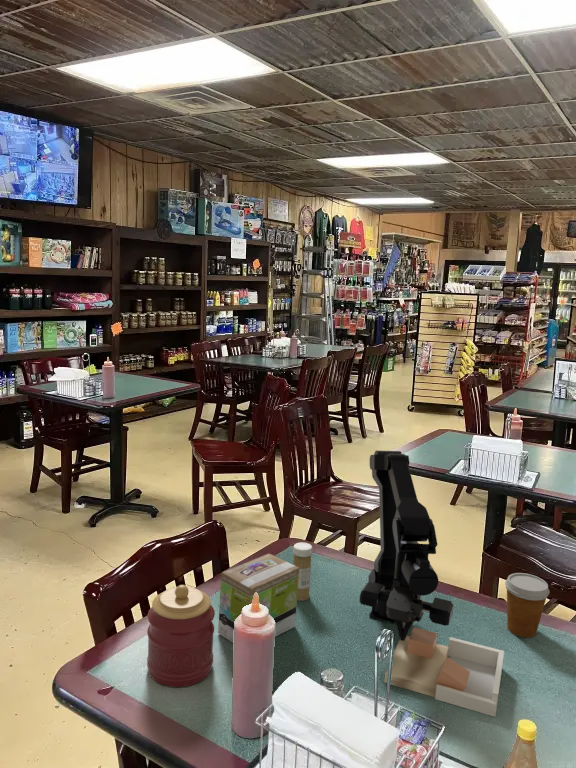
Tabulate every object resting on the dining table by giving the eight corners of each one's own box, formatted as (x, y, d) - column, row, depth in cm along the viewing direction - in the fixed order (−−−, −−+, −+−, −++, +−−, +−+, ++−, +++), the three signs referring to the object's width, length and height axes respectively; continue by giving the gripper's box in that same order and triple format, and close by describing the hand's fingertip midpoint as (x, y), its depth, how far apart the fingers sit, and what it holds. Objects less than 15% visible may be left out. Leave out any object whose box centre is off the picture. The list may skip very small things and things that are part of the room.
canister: (216, 650, 132) (219, 571, 129) (208, 690, 119) (211, 604, 116) (154, 647, 132) (155, 568, 129) (139, 687, 119) (140, 601, 116)
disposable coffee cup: (520, 645, 139) (527, 595, 137) (491, 623, 148) (496, 575, 146) (553, 637, 143) (559, 588, 141) (522, 615, 152) (528, 569, 150)
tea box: (248, 654, 131) (251, 588, 129) (217, 634, 138) (218, 571, 135) (297, 627, 142) (300, 565, 140) (265, 609, 149) (268, 550, 146)
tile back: (407, 652, 131) (408, 639, 131) (412, 639, 136) (413, 627, 135) (431, 658, 129) (433, 645, 129) (436, 646, 134) (437, 633, 133)
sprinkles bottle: (306, 591, 158) (309, 541, 156) (311, 601, 154) (314, 549, 151) (289, 592, 157) (291, 542, 155) (293, 602, 153) (296, 550, 150)
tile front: (435, 682, 122) (442, 670, 121) (440, 667, 126) (446, 656, 125) (458, 697, 120) (466, 686, 119) (463, 683, 125) (470, 671, 124)
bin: (435, 699, 120) (436, 680, 120) (448, 654, 135) (449, 637, 134) (495, 716, 116) (497, 697, 115) (502, 668, 131) (504, 651, 130)
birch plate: (384, 682, 124) (385, 673, 124) (401, 642, 138) (402, 634, 138) (435, 697, 121) (436, 688, 120) (447, 655, 134) (448, 646, 134)
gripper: (354, 576, 127) (349, 647, 130) (447, 599, 120) (440, 673, 123) (369, 555, 138) (364, 621, 140) (457, 575, 130) (449, 644, 133)
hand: (402, 639), depth 134 cm, fingers closed
